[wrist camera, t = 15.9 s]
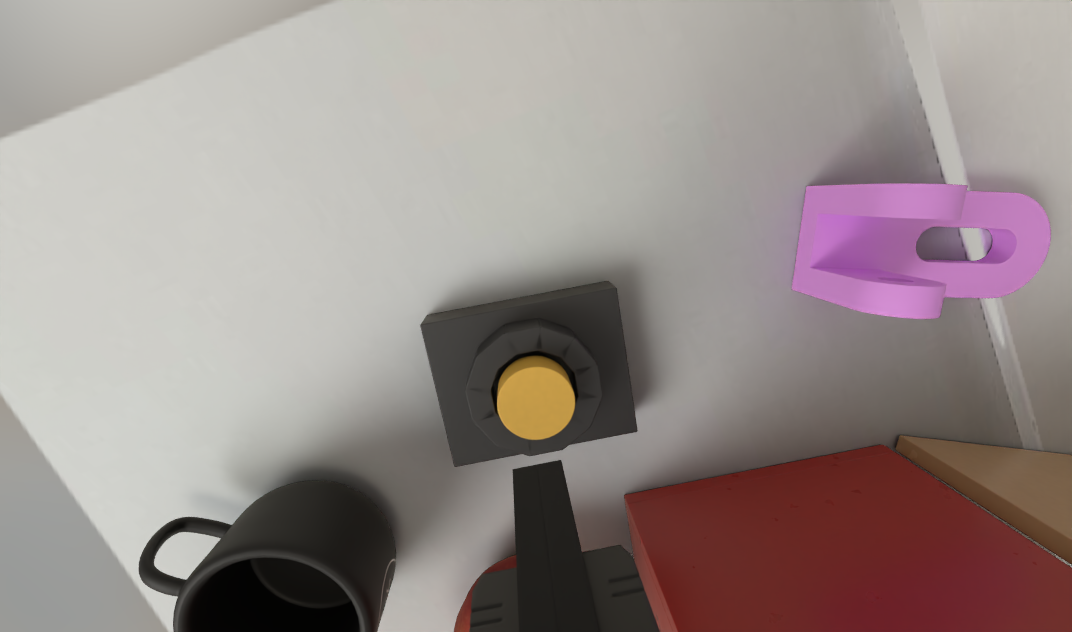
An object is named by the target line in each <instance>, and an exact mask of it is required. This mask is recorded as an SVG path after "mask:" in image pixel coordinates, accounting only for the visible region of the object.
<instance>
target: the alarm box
mask: <svg viewBox="0 0 1072 632" xmlns="http://www.w3.org/2000/svg"><path fill="white" fill-rule="evenodd" d="M420 326H421V330H422V334H423V338H424V342H425V347H426V351H427V355H428V359H429V363H430V367H431V371H432V376H433V380H434V384H435V388H436V392H437V396H438V400H439V404H440V409H441V413H442V417H443V421H444V425H445V429H446V433H447V438H448V442H449V446H450V450H451V454H452V458H453V462H454V466H455V467H457V466H462V465H468V464H473V463H478V462H483V461H488V460H493V459H499V458H504V457H509V456H514V455H519V454H524V455H528V456H533V455H538V454H543V453H549V452H554V451H559V450H563V449H564V448H566V447H567V446H568V445H571V444H576V443H581V442H586V441H592V440H597V439H602V438H607V437H612V436H617V435H622V434H628V433H633V432H637V424H636V417H635V410H634V404H633V397H632V390H631V383H630V376H629V370H628V363H627V356H626V349H625V342H624V336H623V329H622V322H621V315H620V309H619V302H618V295H617V288H616V287H615V286H613V285H612V284H611V283H610V282H609V281H604V282H599V283H594V284H589V285H583V286H578V287H573V288H568V289H562V290H557V291H552V292H546V293H541V294H536V295H531V296H525V297H520V298H515V299H510V300H504V301H499V302H494V303H488V304H483V305H478V306H473V307H467V308H462V309H457V310H451V311H446V312H441V313H436V314H430V315H427V316H426V317H425V319H424V320H423V322H422V323H421V325H420ZM527 356H544V357H547V358H550V359H552V360H554V361H556V362H557V363H558V364H560V365H561V366H562V367H563V369H564V370H565V371H566V373H567V375H568V377H569V380H570V382H571V385H572V388H573V391H574V395H575V409H574V413H573V416H572V418H571V420H570V421H569V423H568V424H567V425H566V427H565V428H564V429H562V430H561V431H560V432H559V433H557V434H555V435H554V436H551V437H549V438H545V439H540V440H531V439H525V438H522V437H519V436H517V435H515V434H514V433H512V432H511V431H510V430H509V429H507V428H506V426H505V425H504V424H503V422H502V421H501V419H500V416H499V413H498V409H497V394H498V384H499V380H500V378H501V375H502V374H503V372H504V371H505V369H506V368H507V367H508V366H509V365H510V364H512V363H513V362H514V361H516V360H518V359H520V358H523V357H527Z"/></svg>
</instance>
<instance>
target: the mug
mask: <svg viewBox="0 0 1072 632" xmlns="http://www.w3.org/2000/svg"><path fill="white" fill-rule="evenodd" d="M179 532H193V533H200V534H205V535H210V536H215V537H219V538H221V540H220V541H219V542H218V543H217V544H216V545H215V547H214V548H213V549H212V550H211V552H210V553H209V554H208V555H207V556H206V557H205V559H204V560H203V561H202V562H201V563H200V564H199V565H198V566H197V568H196V569H195V570H194V571H193V572H192V574H191V575H190V576H189V578H188V579H187V580H184V579H180V578H176V577H173V576H170V575H167V574H165V573H163V572H161V571H159V570H158V569H157V568H156V567H155V566H154V559H155V556H156V553H157V551H158V550H159V548H160V547H161V546H162V544H163V543H164V542H165V541H166V540H167V539H168V538H170V537H171V536H173V535H174V534H177V533H179ZM395 565H396V550H395V543H394V539H393V535H392V532H391V529H390V527H389V525H388V522H387V520H386V519H385V517H384V515H383V514H382V512H381V511H380V510H379V509H378V507H377V506H376V505H375V504H374V503H373V502H372V501H371V500H370V499H369V498H367V497H366V496H364V495H363V494H362V493H360V492H358V491H357V490H355V489H353V488H351V487H348V486H346V485H343V484H339V483H335V482H330V481H318V480H312V481H302V482H297V483H292V484H289V485H286V486H283V487H280V488H277V489H275V490H273V491H271V492H269V493H267V494H265V495H264V496H262V497H261V498H259V499H258V500H256V501H255V502H254V503H253V504H252V505H250V506H249V507H248V508H247V509H246V510H245V511H244V512H243V513H242V514H241V515H240V517H239V518H238V519H237V520H236V521H235V523H234V524H233V525H230V524H226V523H223V522H219V521H214V520H210V519H204V518H197V517H182V518H178V519H175V520H173V521H171V522H169V523H167V524H166V525H164V526H163V527H162V528H161V529H160V530H158V531H157V532H156V533H155V534H154V536H153V537H152V538H151V539H150V540H149V542H148V543H147V545H146V547H145V548H144V550H143V552H142V555H141V557H140V561H139V574H140V577H141V579H142V581H143V582H144V583H145V585H147V586H148V587H150V588H152V589H154V590H156V591H158V592H161V593H164V594H168V595H172V596H178V599H177V601H176V605H175V610H174V618H173V629H174V632H377V630H378V627H379V623H380V620H381V617H382V613H383V610H384V607H385V603H386V600H387V597H388V593H389V590H390V587H391V583H392V580H393V576H394V571H395Z"/></svg>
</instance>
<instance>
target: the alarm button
mask: <svg viewBox="0 0 1072 632" xmlns="http://www.w3.org/2000/svg"><path fill="white" fill-rule="evenodd" d="M497 409H498V413H499V416H500V419H501V421H502V422H503V424H504V425H505V426H506V428H507V429H509V430H510V431H511V432H512V433H514V434H515V435H517V436H519V437H522V438H525V439H531V440H540V439H545V438H549V437H551V436H554V435H555V434H557V433H559V432H560V431H561V430H562V429H564V428H565V427H566V425H567V424H568V423H569V421H570V420H571V418H572V416H573V413H574V409H575V395H574V391H573V388H572V385H571V382H570V380H569V377H568V375H567V373H566V371H565V370H564V369H563V367H562V366H561V365H560V364H558V363H557V362H556V361H554V360H552V359H550V358H547V357H544V356H527V357H523V358H520V359H518V360H516V361H514V362H513V363H512V364H510V365H509V366H508V367H507V368H506V369H505V371H504V372H503V374H502V375H501V378H500V380H499V384H498V394H497Z"/></svg>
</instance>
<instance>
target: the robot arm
mask: <svg viewBox="0 0 1072 632" xmlns="http://www.w3.org/2000/svg"><path fill="white" fill-rule="evenodd" d="M513 488H514V514H515V540H516V566H517V567H515V568H510V569H505V570H500V571H495V572H490V573H485V574H482V575H481V576H480V578H479V580H478V582H477V584H476V586H475V587H474V589H473V591H472V602H471V615H470V629H469V632H660V631H659V628H658V625H657V622H656V619H655V617H654V614H653V611H652V608H651V606H650V603H649V600H648V597H647V595H646V592H645V590H644V586H643V583H642V581H641V578H640V576H639V572H638V570H637V567H636V564H635V561H634V559H633V557H632V556H631V555H630V554H629V553H628V552H627V551H626V550H625V549H624V548H623V547H622V546H620V545H617V546H612V547H607V548H602V549H597V550H592V551H587V552H582V551H581V547H580V542H579V538H578V533H577V529H576V524H575V520H574V515H573V511H572V506H571V502H570V498H569V493H568V489H567V484H566V480H565V475H564V471H563V466H562V462H561V460H558V461H553V462H548V463H543V464H538V465H533V466H528V467H523V468H518V469H513Z"/></svg>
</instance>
